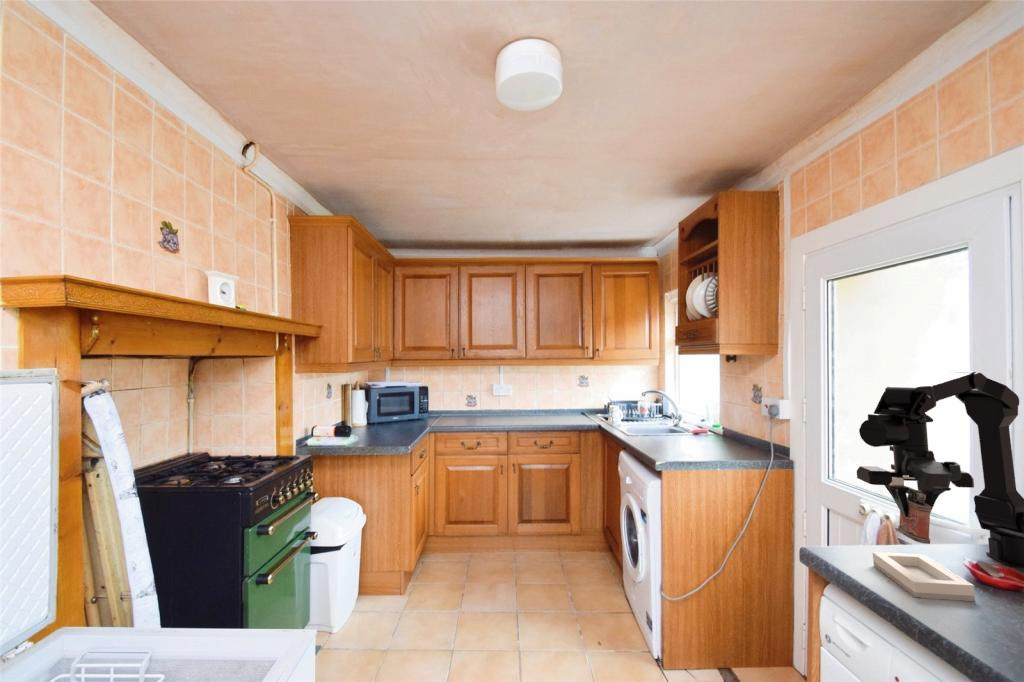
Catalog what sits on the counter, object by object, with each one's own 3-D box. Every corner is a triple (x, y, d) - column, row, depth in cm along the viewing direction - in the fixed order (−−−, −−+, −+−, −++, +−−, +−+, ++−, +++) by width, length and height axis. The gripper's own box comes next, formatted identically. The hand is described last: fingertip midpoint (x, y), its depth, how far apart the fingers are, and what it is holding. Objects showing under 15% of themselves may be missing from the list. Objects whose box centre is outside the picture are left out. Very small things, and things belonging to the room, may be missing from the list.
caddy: (924, 568, 100) (923, 554, 100) (975, 601, 86) (973, 585, 86) (873, 565, 102) (872, 552, 102) (915, 597, 88) (913, 581, 88)
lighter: (935, 545, 91) (937, 496, 91) (914, 542, 92) (917, 493, 92) (911, 531, 98) (913, 485, 99) (893, 528, 99) (895, 483, 100)
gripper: (882, 450, 90) (888, 528, 89) (993, 451, 86) (1000, 533, 85) (853, 440, 101) (857, 510, 100) (950, 441, 97) (956, 514, 96)
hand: (915, 517), depth 95 cm, fingers closed on lighter, 3 cm apart
